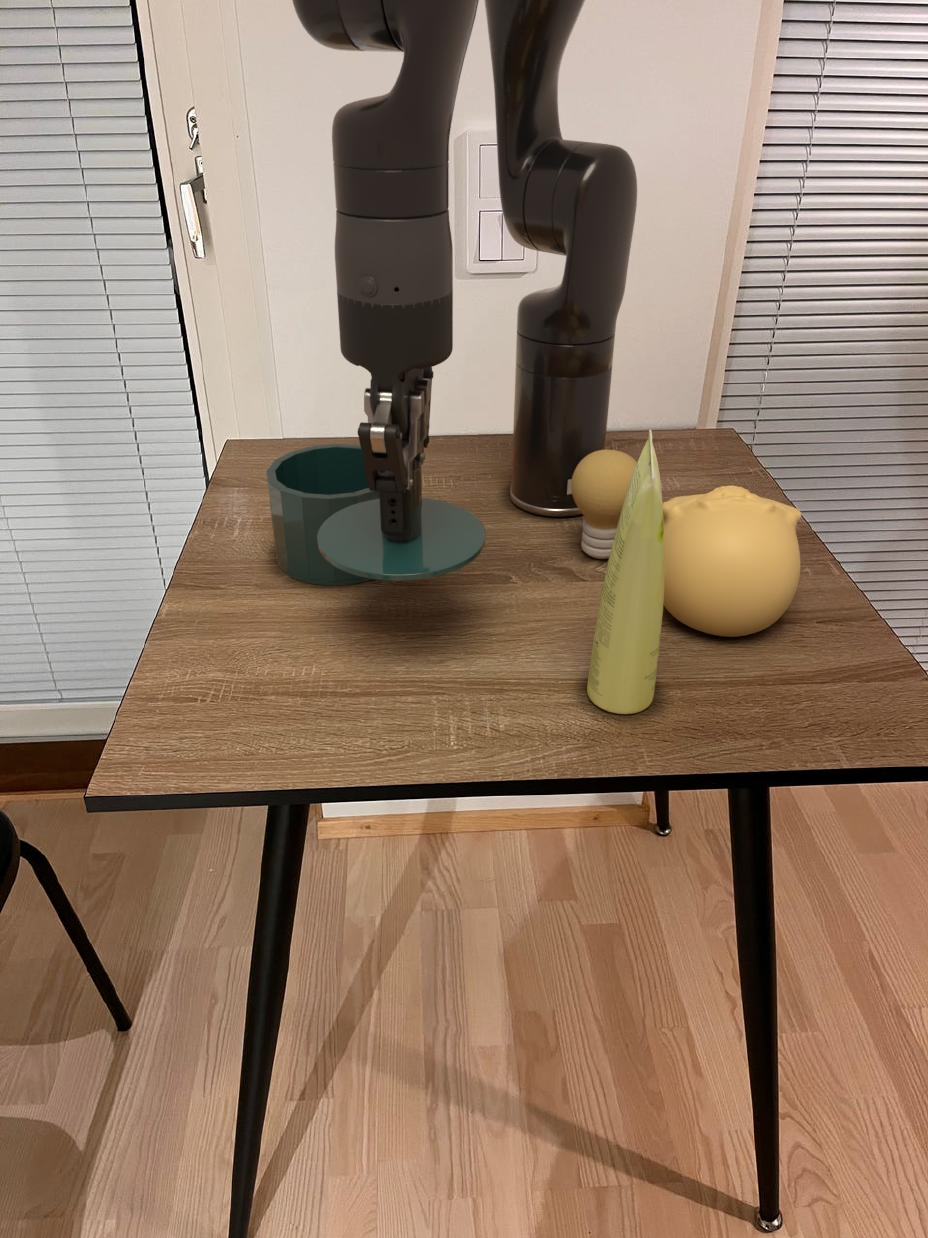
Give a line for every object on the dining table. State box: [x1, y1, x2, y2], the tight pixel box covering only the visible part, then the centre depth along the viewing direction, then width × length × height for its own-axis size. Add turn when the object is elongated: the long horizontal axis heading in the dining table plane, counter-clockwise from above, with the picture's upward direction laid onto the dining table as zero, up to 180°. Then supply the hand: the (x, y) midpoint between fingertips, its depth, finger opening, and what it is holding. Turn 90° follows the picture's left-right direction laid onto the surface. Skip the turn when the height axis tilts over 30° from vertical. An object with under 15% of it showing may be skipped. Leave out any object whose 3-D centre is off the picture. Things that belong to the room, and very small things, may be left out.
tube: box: [586, 428, 665, 715], centre depth 65 cm, size 6×5×20 cm
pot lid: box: [317, 459, 487, 582], centre depth 70 cm, size 13×13×7 cm
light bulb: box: [571, 449, 638, 560], centre depth 87 cm, size 6×6×10 cm
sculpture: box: [662, 485, 802, 638], centre depth 78 cm, size 12×12×11 cm
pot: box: [265, 443, 380, 587], centre depth 87 cm, size 12×12×8 cm
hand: (402, 521), depth 71 cm, fingers closed on pot lid, 3 cm apart
